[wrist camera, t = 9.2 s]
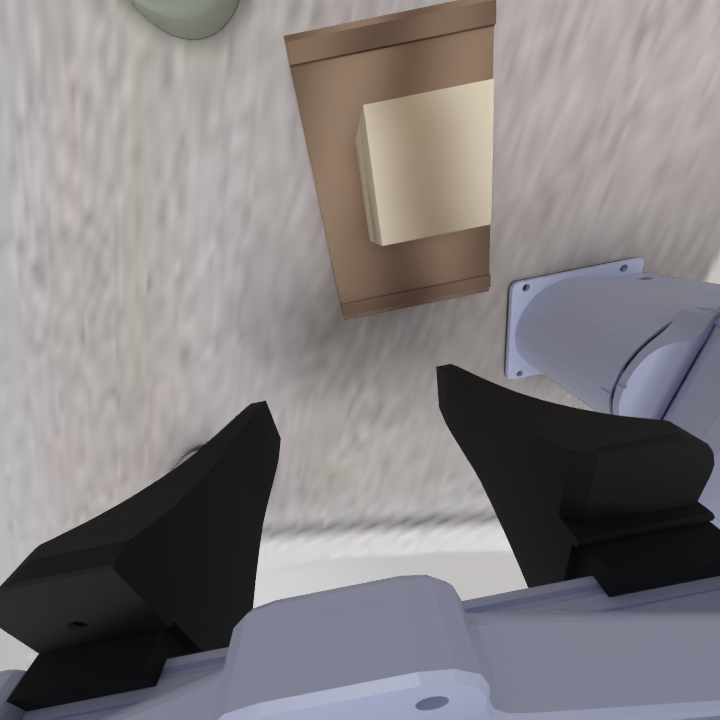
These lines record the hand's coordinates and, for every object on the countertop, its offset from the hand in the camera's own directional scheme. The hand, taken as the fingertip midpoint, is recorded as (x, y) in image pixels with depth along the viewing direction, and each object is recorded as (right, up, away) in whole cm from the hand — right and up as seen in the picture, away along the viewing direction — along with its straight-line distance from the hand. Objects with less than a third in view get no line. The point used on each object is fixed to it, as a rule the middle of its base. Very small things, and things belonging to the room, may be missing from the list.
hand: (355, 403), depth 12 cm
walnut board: (+3, +12, +5) cm, 14 cm away
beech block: (+3, +12, +4) cm, 13 cm away
